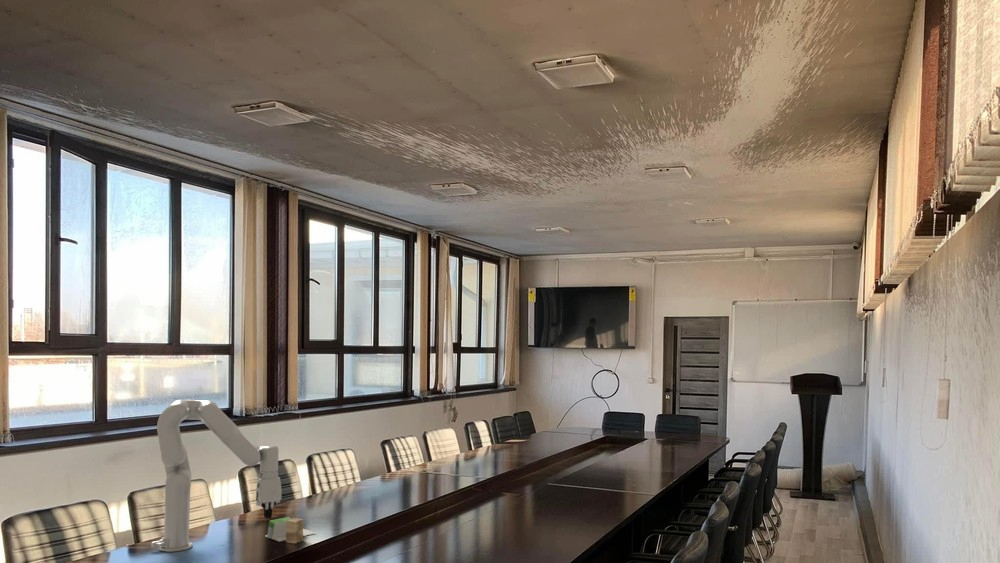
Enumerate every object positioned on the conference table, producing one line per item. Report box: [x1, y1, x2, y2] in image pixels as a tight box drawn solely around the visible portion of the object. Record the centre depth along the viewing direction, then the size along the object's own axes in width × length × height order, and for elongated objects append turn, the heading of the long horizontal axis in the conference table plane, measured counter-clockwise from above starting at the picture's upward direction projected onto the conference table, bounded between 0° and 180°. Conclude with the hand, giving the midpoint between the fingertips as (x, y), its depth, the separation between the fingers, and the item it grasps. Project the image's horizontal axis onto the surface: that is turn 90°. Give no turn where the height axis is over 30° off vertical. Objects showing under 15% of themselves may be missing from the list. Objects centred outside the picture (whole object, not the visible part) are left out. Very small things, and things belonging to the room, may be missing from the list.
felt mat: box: [264, 528, 316, 543], centre depth 329 cm, size 18×12×1 cm, turn 135°
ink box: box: [266, 516, 292, 540], centre depth 327 cm, size 7×4×13 cm
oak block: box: [285, 517, 304, 544], centre depth 320 cm, size 5×5×9 cm
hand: (267, 517), depth 322 cm, fingers closed
